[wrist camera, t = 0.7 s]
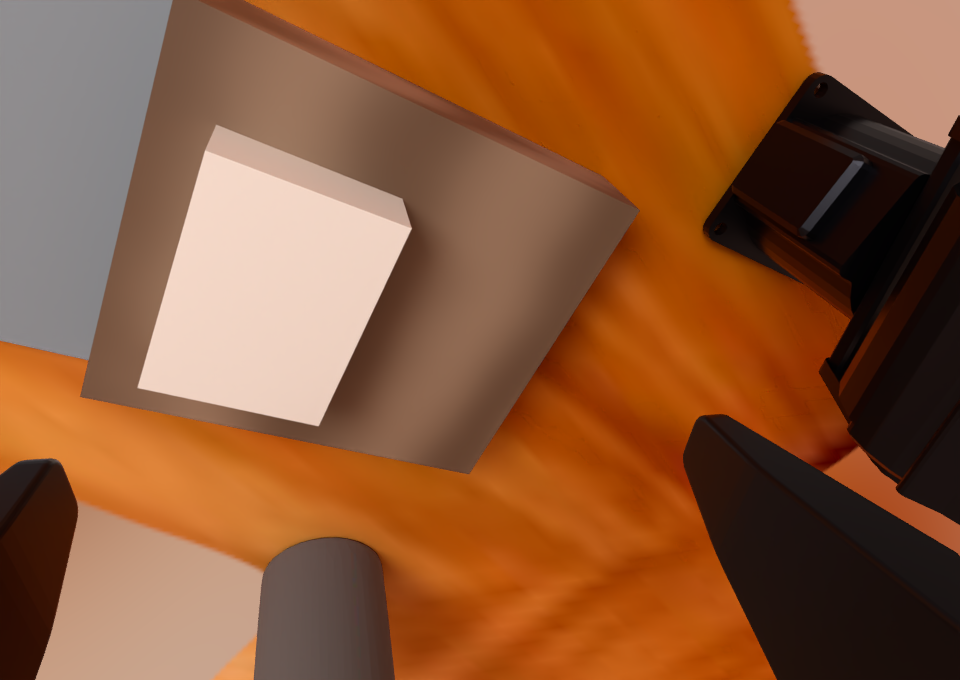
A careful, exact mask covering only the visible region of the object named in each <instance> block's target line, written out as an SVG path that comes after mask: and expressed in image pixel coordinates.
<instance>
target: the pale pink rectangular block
mask: <svg viewBox="0 0 960 680" xmlns="http://www.w3.org/2000/svg"><path fill="white" fill-rule="evenodd" d="M411 229H412V228H411V224H410V221H409V218H408V215H407V212H406V208H405V205H404V202H403V199H402V198H399V197H397V196H394V195H392V194H389V193H386V192H384V191H381V190H379V189H376V188H374V187H371V186H369V185H366V184H364V183H361V182H359V181H356V180H354V179H351V178H349V177H346V176H344V175H341V174H339V173H336V172H334V171H331V170H329V169H326V168H324V167H321V166H319V165H316V164H314V163H311V162H309V161H306V160H304V159H301V158H299V157H296V156H294V155H291V154H289V153H286V152H284V151H281V150H279V149H276V148H273V147H271V146H268V145H266V144H263V143H261V142H258V141H256V140H253V139H251V138H248V137H246V136H243V135H241V134H238V133H236V132H233V131H231V130H228V129H226V128H223V127H221V126H218V125H216V127H215V129H214V131H213V133H212V136H211V138H210V140H209V143H208V145H207V147H206V149H205V152H204V156H203V159H202V163H201V166H200V170H199V173H198V177H197V180H196V184H195V187H194V191H193V194H192V198H191V201H190V205H189V209H188V212H187V216H186V219H185V223H184V226H183V230H182V233H181V237H180V240H179V244H178V247H177V251H176V254H175V258H174V261H173V265H172V268H171V272H170V275H169V279H168V282H167V286H166V289H165V293H164V296H163V300H162V303H161V307H160V310H159V314H158V317H157V321H156V324H155V328H154V331H153V335H152V338H151V342H150V345H149V349H148V353H147V356H146V360H145V363H144V367H143V370H142V374H141V377H140V381H139V384H138V388H140V389H145V390H150V391H154V392H159V393H164V394H168V395H173V396H178V397H183V398H187V399H192V400H197V401H202V402H206V403H211V404H216V405H220V406H225V407H230V408H235V409H239V410H244V411H249V412H253V413H258V414H263V415H268V416H272V417H277V418H282V419H286V420H291V421H296V422H301V423H305V424H310V425H315V426H319V424H320V422H321V420H322V418H323V416H324V414H325V412H326V410H327V407H328V405H329V403H330V401H331V399H332V397H333V395H334V393H335V390H336V388H337V386H338V384H339V382H340V380H341V378H342V376H343V373H344V371H345V369H346V367H347V365H348V363H349V361H350V359H351V356H352V354H353V352H354V350H355V348H356V346H357V344H358V342H359V339H360V337H361V335H362V333H363V331H364V329H365V327H366V325H367V322H368V320H369V318H370V316H371V314H372V312H373V310H374V308H375V306H376V303H377V301H378V299H379V297H380V295H381V293H382V291H383V289H384V286H385V284H386V282H387V280H388V278H389V276H390V274H391V272H392V269H393V267H394V265H395V263H396V261H397V259H398V257H399V255H400V252H401V250H402V248H403V246H404V244H405V242H406V240H407V238H408V235H409V233H410V231H411Z"/></svg>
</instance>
